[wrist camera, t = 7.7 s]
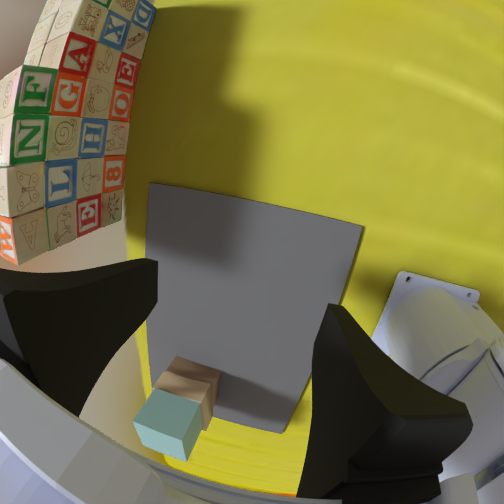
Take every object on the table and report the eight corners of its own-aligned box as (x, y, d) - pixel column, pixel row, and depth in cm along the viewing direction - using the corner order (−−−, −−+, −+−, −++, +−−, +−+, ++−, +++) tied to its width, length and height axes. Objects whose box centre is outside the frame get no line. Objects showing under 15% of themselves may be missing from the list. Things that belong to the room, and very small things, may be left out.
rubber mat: (361, 225, 19) (362, 226, 18) (281, 432, 28) (281, 433, 27) (151, 182, 21) (149, 183, 21) (153, 392, 30) (152, 394, 30)
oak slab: (210, 383, 23) (201, 402, 21) (213, 413, 25) (206, 430, 22) (163, 371, 24) (151, 387, 22) (170, 402, 26) (161, 417, 23)
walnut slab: (221, 370, 25) (213, 387, 23) (217, 398, 27) (210, 414, 25) (176, 355, 26) (165, 370, 24) (176, 385, 28) (167, 399, 26)
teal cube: (200, 402, 21) (181, 440, 17) (202, 427, 22) (186, 461, 18) (155, 387, 22) (132, 420, 17) (161, 414, 23) (142, 445, 19)
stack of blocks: (110, 20, 17) (25, -13, 5) (158, 8, 16) (74, -48, 4) (79, 212, 24) (-17, 248, 12) (123, 222, 23) (15, 269, 12)
